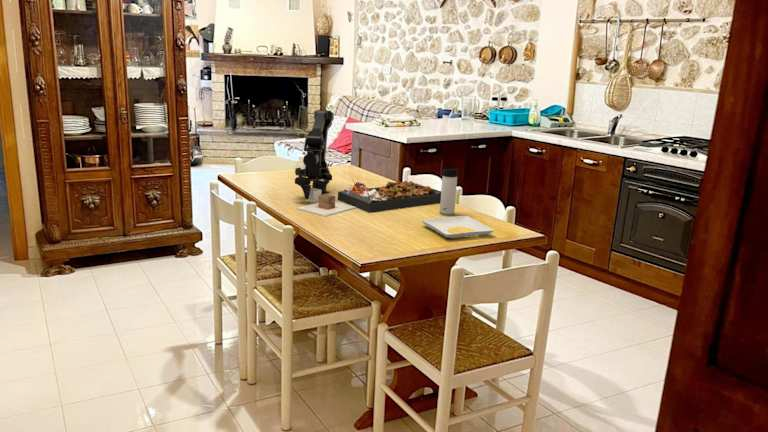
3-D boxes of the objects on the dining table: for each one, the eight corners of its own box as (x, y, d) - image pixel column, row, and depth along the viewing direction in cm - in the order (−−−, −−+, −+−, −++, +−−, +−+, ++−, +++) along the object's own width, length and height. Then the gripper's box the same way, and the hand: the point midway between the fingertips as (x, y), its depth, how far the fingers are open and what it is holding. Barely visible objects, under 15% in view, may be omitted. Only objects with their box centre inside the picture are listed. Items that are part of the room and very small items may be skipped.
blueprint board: (327, 201, 277) (327, 199, 277) (356, 208, 268) (356, 206, 268) (296, 209, 262) (296, 207, 261) (325, 216, 253) (325, 215, 252)
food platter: (368, 214, 262) (369, 190, 260) (337, 201, 281) (338, 178, 279) (448, 203, 289) (450, 181, 286) (415, 192, 308) (416, 171, 305)
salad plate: (445, 242, 228) (446, 233, 227) (419, 226, 247) (420, 218, 246) (494, 238, 237) (495, 229, 236) (465, 223, 255) (466, 215, 254)
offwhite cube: (312, 198, 282) (313, 187, 280) (321, 200, 279) (321, 189, 278) (305, 200, 278) (305, 189, 276) (313, 202, 275) (313, 191, 274)
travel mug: (445, 216, 262) (448, 170, 257) (436, 212, 268) (440, 167, 263) (457, 215, 265) (461, 169, 260) (449, 211, 271) (452, 166, 265)
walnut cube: (326, 205, 268) (326, 193, 267) (335, 207, 265) (335, 195, 264) (318, 207, 264) (318, 195, 263) (327, 209, 261) (327, 197, 260)
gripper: (314, 158, 286) (314, 191, 290) (285, 163, 271) (285, 197, 275) (333, 161, 280) (332, 195, 284) (304, 166, 265) (304, 202, 269)
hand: (313, 197), depth 278 cm, fingers open, 8 cm apart
